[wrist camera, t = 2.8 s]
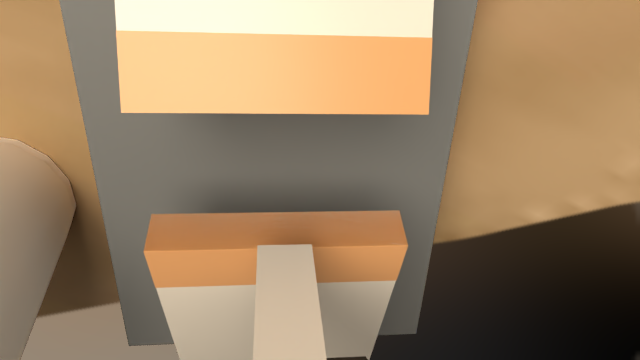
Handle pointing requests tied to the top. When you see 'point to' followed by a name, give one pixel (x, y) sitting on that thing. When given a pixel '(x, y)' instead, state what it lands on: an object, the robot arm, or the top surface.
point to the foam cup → (28, 237)
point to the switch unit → (262, 162)
